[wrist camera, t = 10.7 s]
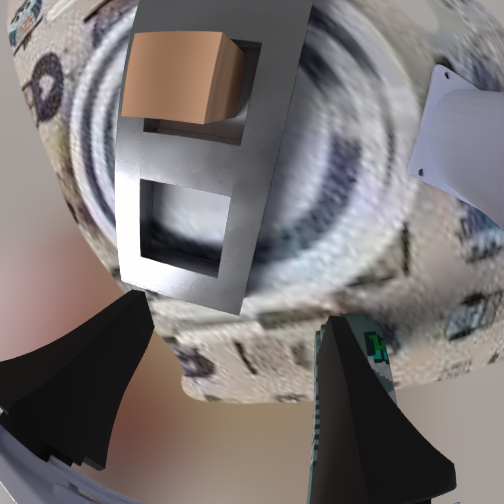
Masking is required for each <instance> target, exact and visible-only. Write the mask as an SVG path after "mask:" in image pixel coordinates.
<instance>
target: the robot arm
mask: <svg viewBox="0 0 504 504" xmlns="http://www.w3.org/2000/svg"><path fill="white" fill-rule="evenodd" d="M445 72H446V73H447V74H448V79H447V78H446V77H445ZM420 169H422V170H423V173H422V174H421V175H419V174H418V172H419V170H420ZM407 172H408V174H409V175H411V176H412V177H414V178H416V179H418V180H421V181H423V182H425V183H427V184H430V185H432V186H434V187H436V188H438V189H440V190H442V191H444V192H447V193H449V194H451V195H453V196H455V197H457V198H459V199H460V200H462V201H464V202H466V203H468V204H470V205H472V206H474V207H475V208H477V209H479V210H481V211H482V212H483V213H485V214H486V215H487V216H488V217H489V218H491V219H492V220H493V221H494V222H495V223H496V224H497V225H499V226H500V227H501V228H502V229H503V230H504V93H503V92H494V91H481V90H479V89H478V88H476V87H475V86H474V85H472V84H471V83H469V82H468V81H466V80H465V79H463V78H462V77H460V76H459V75H457V74H456V73H454V72H453V71H451V70H449V69H448V68H446V67H444V66H443V65H435V66H434V68H433V71H432V77H431V82H430V86H429V91H428V95H427V99H426V104H425V108H424V112H423V115H422V119H421V123H420V126H419V130H418V133H417V137H416V140H415V144H414V147H413V150H412V153H411V156H410V159H409V162H408V165H407ZM154 327H155V326H154V323H153V320H152V316H151V313H150V310H149V306H148V302H147V299H146V295H145V292H143V291H138V290H131V291H129V292H128V293H126V294H125V295H123V296H122V297H120V298H119V299H117V300H116V301H115V302H113V303H112V304H110V305H109V306H108V307H106V308H105V309H103V310H102V311H101V312H99V313H98V314H96V315H95V316H94V317H92V318H91V319H89V320H88V321H86V322H85V323H83V324H82V325H80V326H79V327H77V328H76V329H74V330H73V331H71V332H69V333H68V334H66V335H65V336H63V337H61V338H59V339H57V340H56V341H54V342H52V343H50V344H48V345H45V346H43V347H41V348H39V349H37V350H35V351H32V352H30V353H27V354H25V355H22V356H19V357H16V358H13V359H9V360H5V361H1V362H0V408H1V409H2V410H3V412H2V414H1V413H0V483H1V484H2V486H3V487H4V488H5V490H6V491H7V492H8V494H9V495H10V496H11V498H12V499H13V500H14V501H15V503H16V504H105V503H107V504H144V503H142V502H139V501H137V500H134V499H132V498H129V497H127V496H125V495H123V494H120V493H118V492H116V491H114V490H112V489H110V488H108V487H106V486H104V485H101V484H100V483H98V482H96V481H94V480H92V479H90V478H89V477H87V476H85V475H83V474H82V473H80V472H78V471H77V470H75V469H73V468H72V467H71V465H72V463H75V464H77V465H78V466H81V464H82V462H83V463H85V464H87V465H89V466H91V467H92V468H94V469H96V470H98V471H99V470H103V469H105V466H106V458H107V452H108V446H109V441H110V437H111V432H112V428H113V424H114V421H115V418H116V414H117V411H118V408H119V405H120V403H121V400H122V397H123V394H124V392H125V390H126V387H127V386H128V384H129V382H130V380H131V378H132V376H133V374H134V372H135V370H136V368H137V366H138V364H139V362H140V360H141V358H142V357H143V355H144V353H145V350H146V348H147V346H148V344H149V341H150V338H151V336H152V333H153V330H154ZM317 376H318V395H319V417H320V433H319V444H318V454H317V462H316V469H315V476H314V482H313V488H312V493H311V498H310V502H309V504H431V499H432V498H435V497H437V496H440V495H443V494H445V493H447V492H450V491H452V490H454V489H455V488H456V486H457V485H456V473H455V467H454V464H453V463H452V462H451V461H450V460H449V459H447V458H446V457H445V456H444V455H443V454H441V453H440V452H439V451H438V450H436V449H435V448H434V447H433V446H432V445H431V444H430V443H429V442H428V441H427V440H426V439H425V438H424V437H423V436H422V435H421V434H420V433H419V432H418V430H416V428H415V427H414V426H413V425H412V424H411V422H410V421H409V420H408V419H407V418H406V417H405V416H404V414H403V413H402V412H401V410H400V409H399V408H398V407H397V405H396V404H395V402H394V401H393V400H392V398H391V397H390V395H389V394H388V392H387V391H386V390H385V388H384V386H383V385H382V383H381V382H380V380H379V378H378V377H377V375H376V374H375V372H374V370H373V369H372V367H371V365H370V363H369V361H368V360H367V358H366V356H365V354H364V352H363V351H362V349H361V347H360V345H359V343H358V341H357V339H356V337H355V335H354V333H353V331H352V329H351V327H350V325H349V322H348V320H347V319H346V317H340V316H329V318H328V322H327V325H326V328H325V332H324V335H323V338H322V341H321V345H320V348H319V353H318V373H317ZM78 488H80V489H81V490H83V491H85V492H87V493H88V494H90V495H92V496H94V497H96V498H97V499H99V500H101V501H103V502H105V503H103V502H101V501H99V500H97V499H95V498H92V497H90V496H88V495H85V494H83V493H81V492H79V490H78ZM454 504H460V502H457V503H454Z"/></svg>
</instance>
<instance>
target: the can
mask: <svg viewBox="0 0 504 504" xmlns="http://www.w3.org/2000/svg"><path fill="white" fill-rule="evenodd" d="M341 317H346V319H347V320H348V322H349V325H350V327H351V329H352V331H353V333H354V335H355V337H356V339H357V341H358V343H359V345H360V347H361V349H362V351H363V352H364V354H365V356H366V358H367V360H368V361H369V363H370V365H371V367H372V369H373V370H374V372H375V374H376V375H377V377H378V378H379V380H380V382H381V383H382V385H383V386H384V388H385V390H386V391H387V392H388V394H389V395H390V397H391V398H392V400H393V401H394V402H395V404H396V405H397V401H396V395H395V389H394V384H393V378H392V373H391V368H390V364H389V359H388V355H387V350H386V346H385V342H384V338H383V334H382V330H381V328H380V324H377V323H376V321H373V318H365V315H341ZM326 325H327V322H326ZM326 325H321V331H320V332H316V335H315V345H314V410H313V434H312V450H311V464H310V476H309V487H308V496H307V504H309V502H310V498H311V493H312V488H313V482H314V476H315V469H316V462H317V454H318V444H319V433H320V417H319V395H318V376H317V373H318V353H319V348H320V345H321V341H322V338H323V335H324V332H325V328H326Z"/></svg>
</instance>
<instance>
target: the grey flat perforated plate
mask: <svg viewBox="0 0 504 504" xmlns="http://www.w3.org/2000/svg"><path fill="white" fill-rule="evenodd" d="M313 1H314V0H140V1H139V4H138V8H137V11H136V15H135V19H134V23H133V27H132V31H131V35H130V40H129V44H128V49H127V54H126V60H125V65H124V71H123V78H122V85H121V92H120V100H119V110H118V121H117V134H116V155H115V207H116V228H117V242H118V253H119V263H120V272H121V280H122V281H124V282H127V283H130V284H133V285H136V286H139V287H142V288H145V289H148V290H151V291H154V292H157V293H161V294H164V295H167V296H170V297H174V298H177V299H180V300H184V301H187V302H190V303H194V304H197V305H201V306H205V307H208V308H212V309H215V310H219V311H223V312H227V313H230V314H234V315H238V316H239V314H240V310H241V307H242V303H243V299H244V295H245V291H246V287H247V283H248V279H249V274H250V270H251V266H252V262H253V258H254V253H255V249H256V245H257V241H258V237H259V232H260V228H261V224H262V220H263V215H264V211H265V207H266V203H267V199H268V194H269V190H270V186H271V182H272V177H273V173H274V169H275V165H276V160H277V156H278V152H279V148H280V143H281V139H282V135H283V131H284V126H285V122H286V118H287V114H288V109H289V105H290V101H291V96H292V92H293V88H294V84H295V79H296V75H297V71H298V66H299V62H300V58H301V53H302V49H303V45H304V40H305V36H306V32H307V27H308V23H309V19H310V14H311V10H312V6H313ZM162 31H208V32H223V33H224V34H225V35H226V36H227V37H228V38H229V39H230V40H231V41H233V42H234V43H235V44H236V45H237V46H242V47H250V48H257V49H261V51H260V56H259V60H258V65H257V69H256V74H255V78H254V83H253V87H252V92H251V97H250V102H249V106H248V111H247V116H246V121H245V126H244V131H243V136H242V141H241V140H236V139H230V138H225V137H219V136H213V135H207V134H201V133H194V132H187V131H180V130H172V129H163V128H158V125H159V119H154V118H142V117H127V116H121V114H122V105H123V97H124V89H125V82H126V76H127V70H128V64H129V59H130V54H131V49H132V44H133V39H134V35H135V33H146V32H162ZM154 181H157V182H162V183H168V184H173V185H178V186H183V187H188V188H193V189H197V190H202V191H207V192H211V193H216V194H221V195H225V196H229V197H231V201H230V206H229V212H228V218H227V224H226V230H225V236H224V242H223V248H222V255H221V261H216V260H212V259H208V258H205V257H201V256H197V255H193V254H189V253H185V252H182V251H178V250H174V249H170V248H167V247H163V246H159V245H155V244H152V206H153V183H154Z"/></svg>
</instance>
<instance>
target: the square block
mask: <svg viewBox="0 0 504 504" xmlns="http://www.w3.org/2000/svg"><path fill="white" fill-rule="evenodd" d="M247 60H248V56H247V55H246V54H245V53H244V52H243V51H242V50H241V49H240V48H239V47H238V46H237V45H236V44H235V43H234V42H233V41H231V40H230V39H229V38H228V37H227V36H226V35H225V34H224V33H223V32H208V31H162V32H146V33H135V35H134V39H133V44H132V49H131V54H130V59H129V64H128V70H127V76H126V82H125V89H124V97H123V105H122V114H121V116H127V117H142V118H154V119H165V120H174V121H182V122H190V123H197V124H208V123H212V122H216V121H220V120H225V119H229V118H234V117H235V116H236V111H237V106H238V101H239V96H240V92H241V87H242V82H243V78H244V73H245V69H246V64H247Z"/></svg>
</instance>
